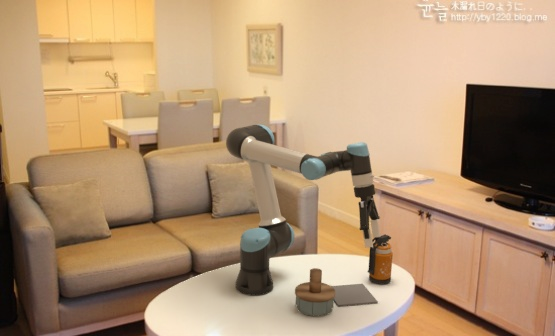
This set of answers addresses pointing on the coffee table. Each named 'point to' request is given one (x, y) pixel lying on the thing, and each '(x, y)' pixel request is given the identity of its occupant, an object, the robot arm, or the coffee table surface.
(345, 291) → the rubber mat
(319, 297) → the walnut lid
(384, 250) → the canister
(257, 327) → the coffee table surface
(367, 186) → the robot arm
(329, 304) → the slate bowl
